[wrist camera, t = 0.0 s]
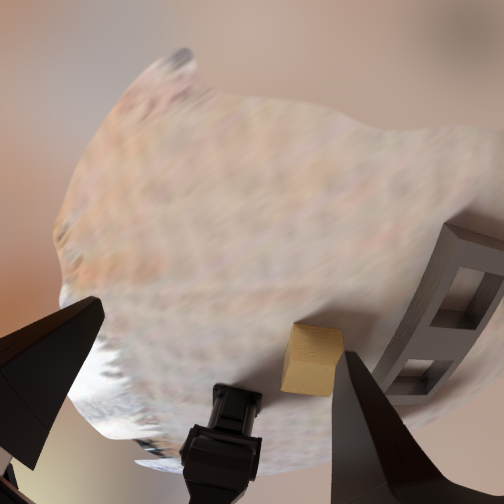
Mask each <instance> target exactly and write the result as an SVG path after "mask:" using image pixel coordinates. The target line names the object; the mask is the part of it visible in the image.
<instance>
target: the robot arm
mask: <svg viewBox="0 0 504 504" xmlns="http://www.w3.org/2000/svg"><path fill="white" fill-rule="evenodd" d="M104 318H105V314H104V310H103V306H102V302H101V300H100V299H99V298H97V297H94V296H89V297H87V298H85V299H83V300H81V301H78V302H76V303H74V304H72V305H70V306H68V307H65V308H63V309H61V310H59V311H57V312H55V313H53V314H51V315H48V316H47V317H44V318H42V319H40V320H38V321H36V322H34V323H32V324H29V325H27V326H25V327H23V328H21V329H20V330H17V331H15V332H13V333H11V334H9V335H6V336H4V337H2V338H0V504H35V503H34V502H33V501H31V500H30V499H29V498H28V497H26V496H25V495H24V494H22V493H21V492H20V491H19V490H18V489H19V488H18V485H17V481H16V478H15V474H14V470H13V466H12V464H11V463H10V461H11V460H12V458H13V457H14V458H16V459H17V460H18V461H20V462H21V463H22V464H24V465H25V466H27V467H28V468H30V469H31V470H32V471H33V470H34V468H35V466H36V463H37V461H38V458H39V456H40V453H41V451H42V449H43V446H44V444H45V441H46V439H47V437H48V434H49V431H50V430H51V427H52V425H53V423H54V421H55V418H56V416H57V414H58V412H59V410H60V408H61V406H62V404H63V402H64V400H65V398H66V396H67V394H68V392H69V390H70V388H71V386H72V384H73V382H74V380H75V378H76V376H77V375H78V373H79V371H80V369H81V367H82V365H83V363H84V361H85V360H86V358H87V356H88V354H89V352H90V350H91V348H92V346H93V344H94V341H95V339H96V337H97V334H98V332H99V330H100V328H101V325H102V323H103V321H104ZM261 400H262V395H261V394H259V393H253V392H248V391H242V390H237V389H232V388H227V387H223V386H218V385H214V387H213V410H212V413H211V416H210V420H209V423H208V426H207V427H203V426H199V425H197V424H195V425H194V427H193V428H190V431H189V434H188V437H187V439H186V441H185V443H184V444H183V446H182V447H181V449H180V451H179V454H180V456H181V460H182V462H181V464H182V466H184V469H183V476H184V479H185V482H186V485H187V488H188V491H189V494H190V501H189V504H235V503H236V502H237V501H238V500H239V499H240V498H241V497H242V496H243V495H244V493H245V491H246V489H247V487H248V483H249V481H254V480H255V478H256V474H257V470H258V464H259V458H260V450H261V443H262V438H260V437H258V438H256V437H251V433H252V428H253V423H254V418H256V417H257V414H258V411H259V407H260V403H261ZM331 485H332V486H331V504H504V496H493V495H489V494H486V493H483V492H479V491H476V490H473V489H470V488H467V487H464V486H461V485H458V484H455V483H453V482H451V481H450V480H448V479H447V478H446V477H444V476H443V475H442V473H441V472H440V471H439V470H438V468H437V467H436V466H435V465H434V464H433V463H432V461H431V460H430V459H429V458H428V456H427V455H426V454H425V453H424V451H423V450H422V449H421V447H420V446H419V445H418V443H417V442H416V441H415V439H414V438H413V436H412V435H411V433H410V432H409V430H408V429H407V427H406V426H405V424H403V421H402V420H401V418H400V417H399V415H398V414H397V412H396V411H395V409H394V408H393V406H392V405H391V403H390V402H389V400H388V399H387V397H386V396H385V394H384V393H383V391H382V390H381V388H380V387H379V385H378V384H377V382H376V381H375V379H374V378H373V376H372V375H371V373H370V372H369V370H368V369H367V368H366V366H365V365H364V363H363V362H362V360H361V359H360V357H359V356H358V354H357V353H356V352H355V351H350V350H344V351H343V352H342V354H341V356H340V358H339V360H338V362H337V364H336V367H335V376H334V388H333V399H332V483H331Z"/></svg>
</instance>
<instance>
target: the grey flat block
mask: <svg viewBox="0 0 504 504" xmlns="http://www.w3.org/2000/svg"><path fill="white" fill-rule="evenodd" d="M459 266H461V267H466V268H470V269H475V270H479V271H484V272H486V273H485V275H484V277H483V279H482V281H481V283H480V285H479V287H478V289H477V291H476V293H475V295H474V297H473V299H472V301H471V303H470V304H469V306H468V308H467V310H466V312H460V311H452V310H444V309H439V307H440V305H441V303H442V301H443V299H444V297H445V296H446V294H447V292H448V289H449V287H450V285H451V283H452V281H453V279H454V277H455V275H456V273H457V270H458V268H459ZM503 296H504V242H503V241H500V240H497V239H494V238H491V237H488V236H484V235H481V234H478V233H475V232H472V231H468V230H465V229H461V228H458V227H455V226H451V225H448V224H443V226H442V229H441V232H440V235H439V238H438V240H437V243H436V246H435V248H434V251H433V253H432V256H431V259H430V261H429V263H428V266H427V268H426V271H425V273H424V275H423V278H422V280H421V282H420V284H419V287H418V289H417V291H416V293H415V295H414V297H413V299H412V302H411V304H410V306H409V308H408V310H407V312H406V314H405V316H404V318H403V320H402V321H401V323H400V325H399V327H398V329H397V331H396V333H395V335H394V336H393V338H392V340H391V342H390V344H389V345H388V347H387V349H386V351H385V352H384V354H383V356H382V357H381V359H380V361H379V362H378V364H377V366H376V367H375V369H374V370H373V372H372V374H371V375H372V376H373V378H374V379H375V381H376V382H377V384H378V385H379V387H380V388H381V390H382V391H383V393H384V394H385V396H386V397H387V399H388V400H389V402H390V403H391V405H426V404H427V403H428V402H429V401H430V399H431V398H432V397H433V396H434V395H435V394H436V393H437V391H438V390H439V389H440V388H441V387H442V386H443V384H444V383H445V382H446V381H447V380H448V378H449V377H450V376H451V375H452V373H453V372H454V371H455V370H456V368H457V367H458V366H459V364H460V363H461V362H462V360H463V359H464V358H465V356H466V355H467V353H468V352H469V351H470V349H471V348H472V346H473V345H474V343H475V342H476V341H477V339H478V338H479V336H480V334H481V333H482V331H483V330H484V328H485V327H486V325H487V323H488V322H489V320H490V319H491V317H492V315H493V314H494V312H495V310H496V308H497V307H498V305H499V303H500V301H501V299H502V298H503ZM408 359H417V360H434V362H433V363H432V364H431V366H430V367H429V369H428V370H427V371H426V373H425V374H424V375H423V377H397V375H398V374H399V372H400V371H401V370H402V368H403V367H404V365H405V364H406V362H407V361H408Z"/></svg>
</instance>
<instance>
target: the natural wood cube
mask: <svg viewBox="0 0 504 504" xmlns="http://www.w3.org/2000/svg"><path fill="white" fill-rule="evenodd" d="M343 351H344V346H343V337H342V330H339V329H331V328H324V327H317V326H310V325H304V324H297V323H293V327H292V330H291V334H290V337H289V341H288V344H287V348H286V351H285V355H284V363H283V372H282V381H281V390H280V391H284V392H291V393H299V394H307V395H316V396H326V397H329V396H330V394H331V393H332V391H333V388H334V376H335V367H336V364H337V362H338V360H339V358H340V356H341V354H342V352H343Z"/></svg>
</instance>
